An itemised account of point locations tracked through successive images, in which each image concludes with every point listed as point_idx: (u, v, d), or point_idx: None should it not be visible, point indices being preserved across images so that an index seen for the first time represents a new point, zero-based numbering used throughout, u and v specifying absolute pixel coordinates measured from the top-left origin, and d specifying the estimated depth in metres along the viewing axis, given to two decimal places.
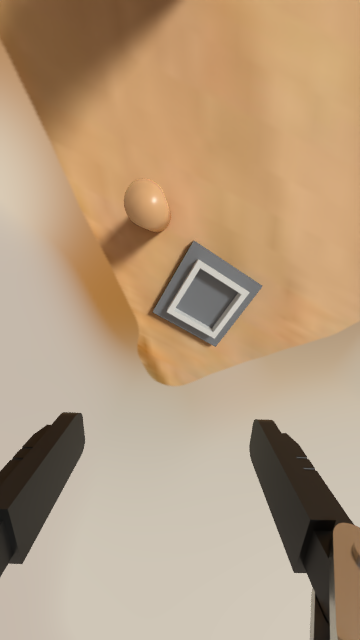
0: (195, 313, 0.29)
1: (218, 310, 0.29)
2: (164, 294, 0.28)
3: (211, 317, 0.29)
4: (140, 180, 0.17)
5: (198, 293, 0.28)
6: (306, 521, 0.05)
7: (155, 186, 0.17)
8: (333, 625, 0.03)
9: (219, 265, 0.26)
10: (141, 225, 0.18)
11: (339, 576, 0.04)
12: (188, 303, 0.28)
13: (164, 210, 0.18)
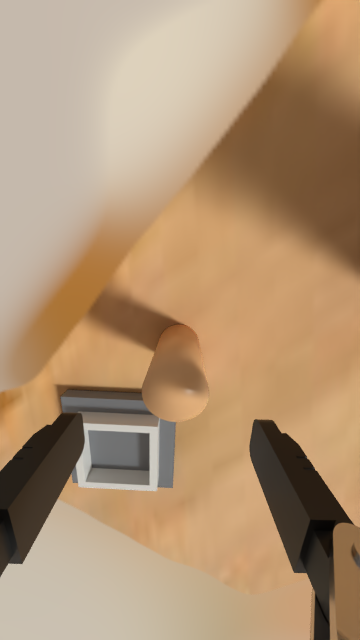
0: (95, 443, 0.21)
1: (117, 463, 0.21)
2: (93, 400, 0.19)
3: (104, 461, 0.21)
4: (201, 376, 0.11)
5: (121, 434, 0.20)
6: (306, 521, 0.05)
7: (204, 398, 0.11)
8: (333, 625, 0.03)
9: (166, 439, 0.20)
10: (145, 399, 0.11)
11: (339, 576, 0.04)
12: (102, 430, 0.20)
13: (182, 419, 0.11)
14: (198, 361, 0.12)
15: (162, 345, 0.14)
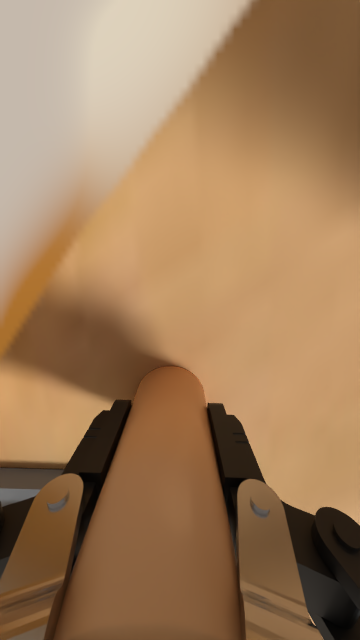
0: None
1: None
2: (26, 491, 0.11)
3: None
4: None
5: None
6: (224, 480, 0.06)
7: None
8: (238, 578, 0.04)
9: None
10: None
11: (242, 530, 0.05)
12: None
13: None
14: (216, 525, 0.04)
15: (130, 442, 0.06)
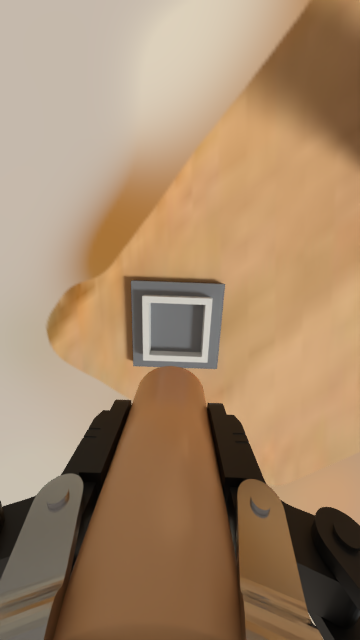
0: (156, 326, 0.25)
1: (172, 345, 0.26)
2: (158, 283, 0.24)
3: (161, 343, 0.26)
4: None
5: (178, 316, 0.25)
6: (224, 480, 0.06)
7: None
8: (238, 578, 0.04)
9: (215, 320, 0.25)
10: None
11: (242, 530, 0.05)
12: (162, 313, 0.25)
13: None
14: (216, 524, 0.04)
15: (130, 442, 0.06)
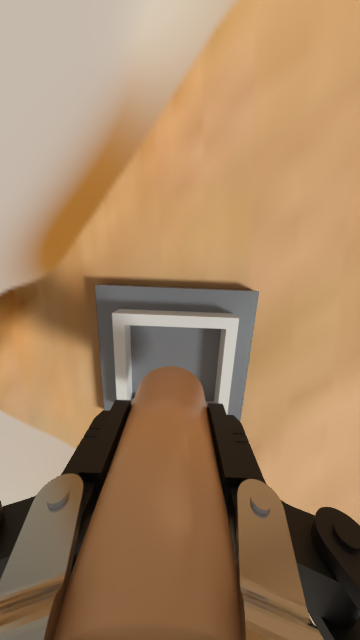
0: (140, 360, 0.15)
1: None
2: (142, 289, 0.14)
3: None
4: None
5: (177, 345, 0.15)
6: (224, 480, 0.06)
7: None
8: (238, 578, 0.04)
9: (239, 352, 0.15)
10: None
11: (242, 530, 0.05)
12: (151, 339, 0.15)
13: None
14: (216, 525, 0.04)
15: (130, 442, 0.06)
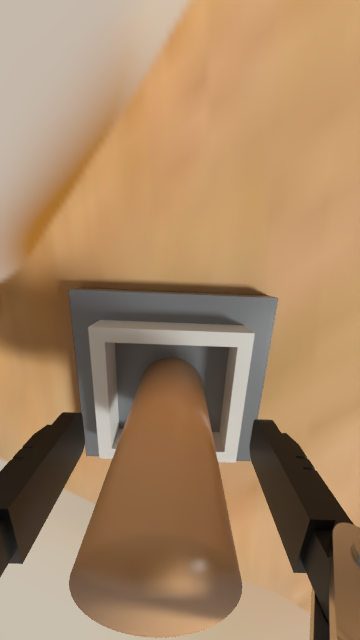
0: (128, 383, 0.12)
1: None
2: (129, 295, 0.11)
3: None
4: (222, 559, 0.04)
5: None
6: (306, 521, 0.05)
7: (229, 597, 0.04)
8: (333, 625, 0.03)
9: (251, 373, 0.12)
10: (80, 601, 0.04)
11: (339, 576, 0.04)
12: (141, 357, 0.12)
13: (174, 633, 0.05)
14: (210, 478, 0.05)
15: (137, 418, 0.07)
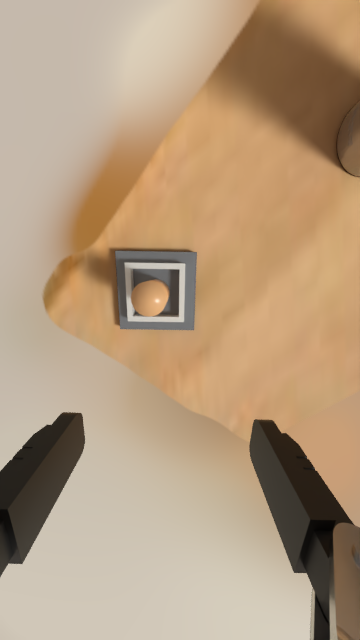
0: None
1: None
2: (138, 252, 0.27)
3: None
4: (161, 288, 0.21)
5: None
6: (306, 521, 0.05)
7: (163, 301, 0.21)
8: (333, 625, 0.03)
9: (189, 285, 0.28)
10: (132, 303, 0.21)
11: (339, 576, 0.04)
12: (144, 279, 0.28)
13: (153, 315, 0.21)
14: (161, 285, 0.22)
15: None
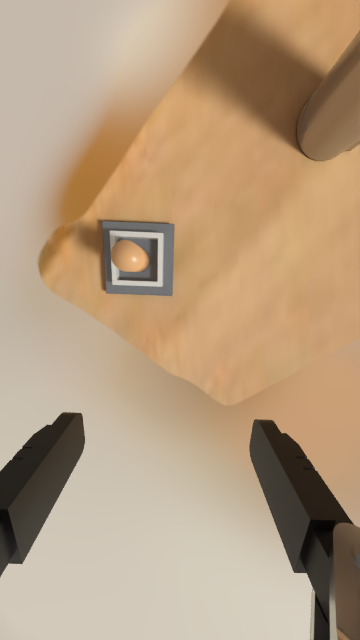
0: None
1: (136, 275, 0.33)
2: (122, 223, 0.31)
3: (127, 273, 0.33)
4: (136, 246, 0.24)
5: None
6: (306, 521, 0.05)
7: (138, 257, 0.25)
8: (333, 625, 0.03)
9: (168, 254, 0.32)
10: (112, 259, 0.25)
11: (339, 576, 0.04)
12: None
13: (129, 270, 0.25)
14: (138, 246, 0.26)
15: None
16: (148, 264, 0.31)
